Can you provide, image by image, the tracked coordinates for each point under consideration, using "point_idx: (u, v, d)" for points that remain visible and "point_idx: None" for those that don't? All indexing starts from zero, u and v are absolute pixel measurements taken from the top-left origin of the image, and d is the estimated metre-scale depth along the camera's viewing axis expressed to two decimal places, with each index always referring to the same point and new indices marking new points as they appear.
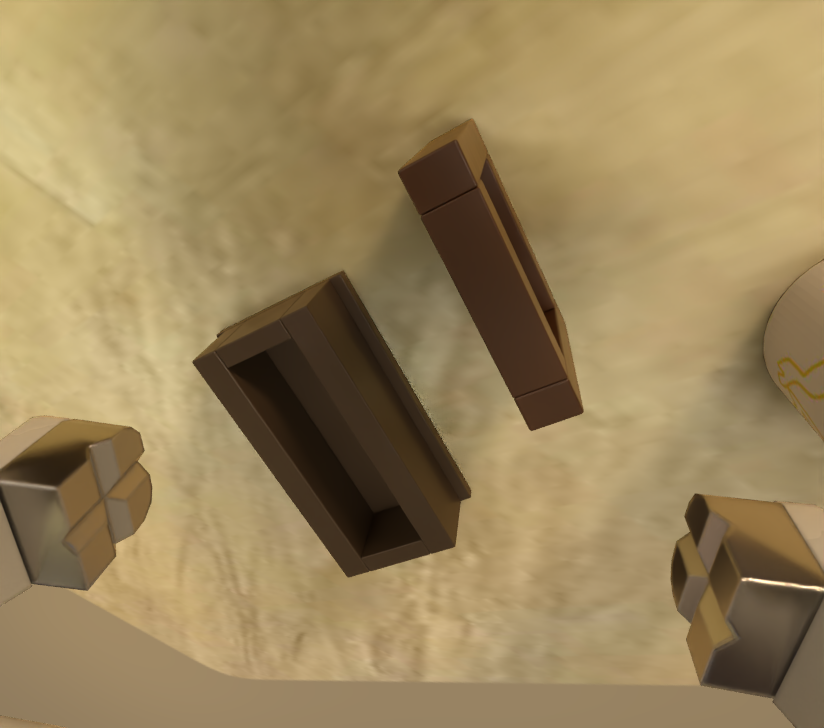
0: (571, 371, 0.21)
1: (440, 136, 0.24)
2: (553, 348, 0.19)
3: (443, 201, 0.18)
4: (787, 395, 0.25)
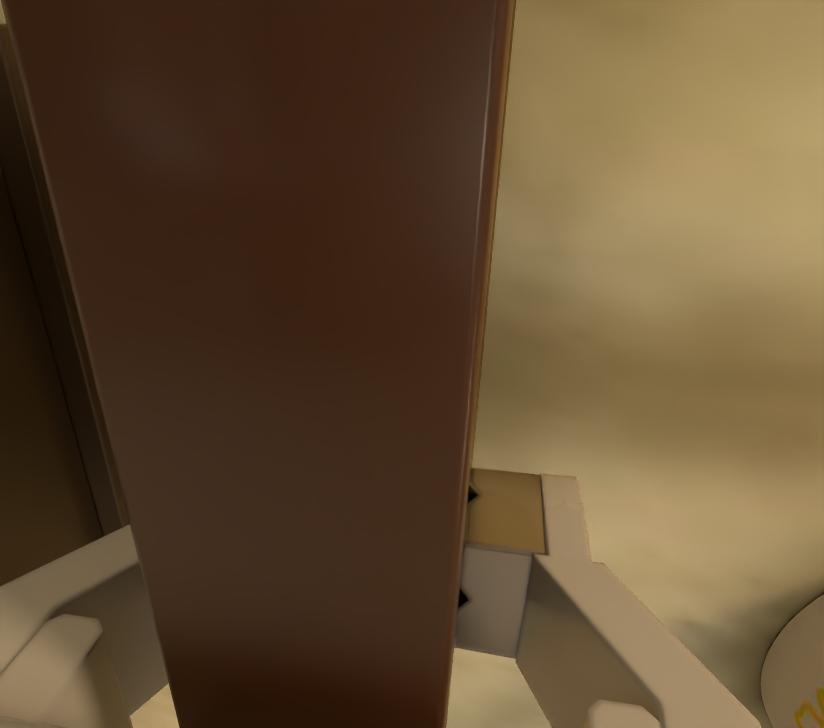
0: (452, 661, 0.06)
1: None
2: (442, 704, 0.04)
3: None
4: None
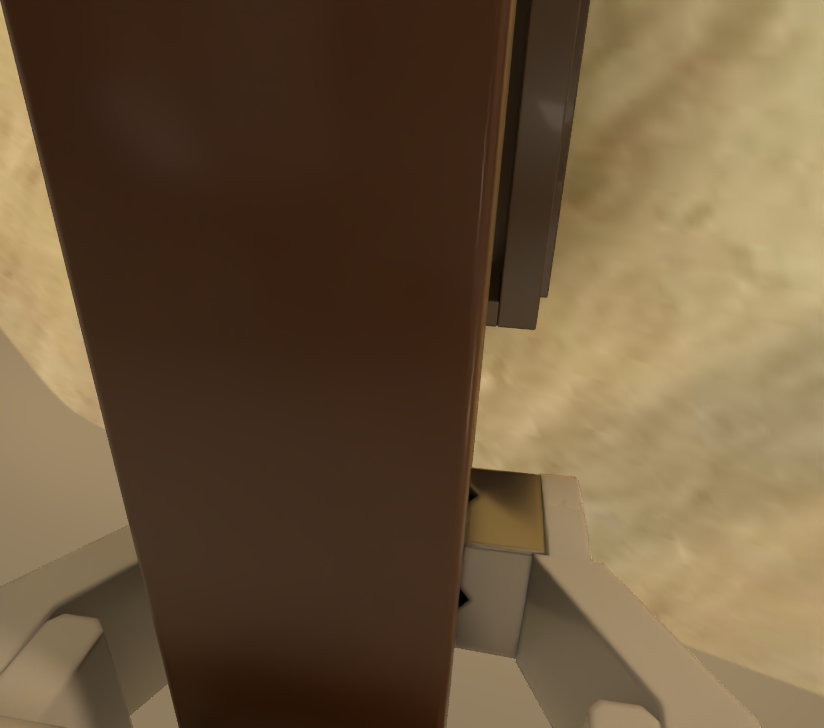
0: (452, 664, 0.06)
1: None
2: (443, 709, 0.04)
3: None
4: None
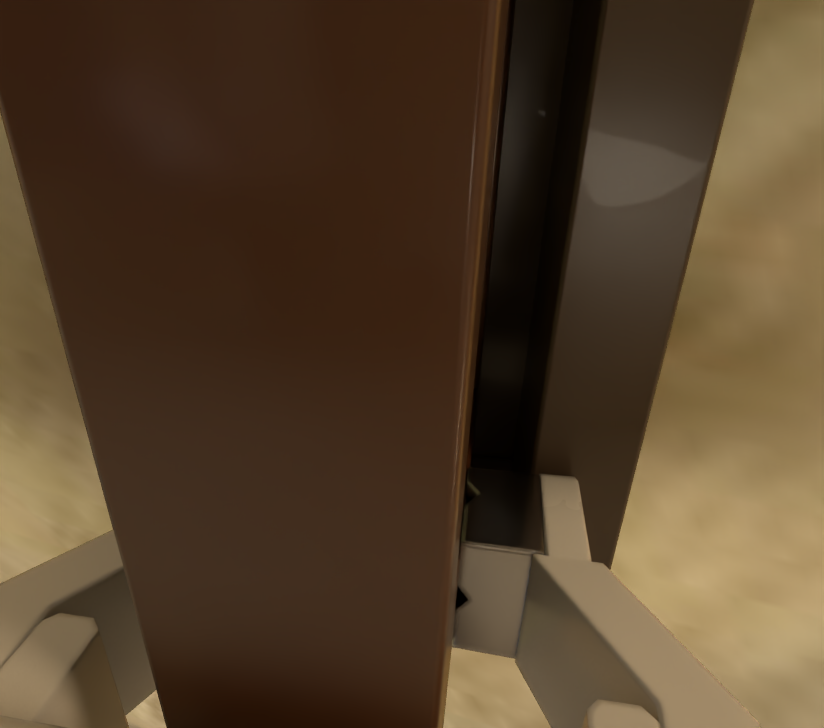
0: (448, 669, 0.06)
1: None
2: (435, 722, 0.04)
3: None
4: None
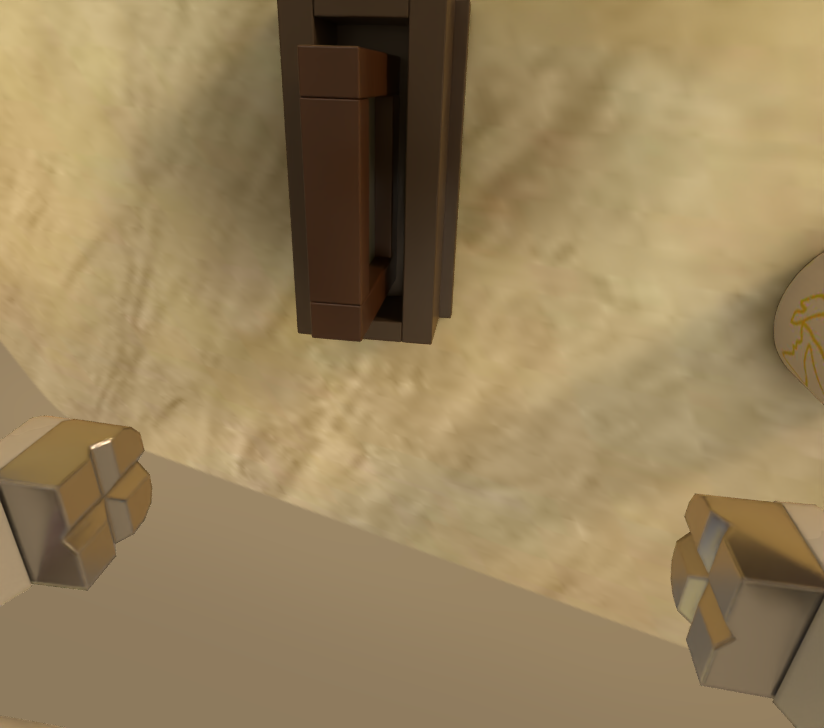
0: (370, 307, 0.24)
1: None
2: (360, 273, 0.21)
3: (324, 95, 0.19)
4: (791, 334, 0.27)
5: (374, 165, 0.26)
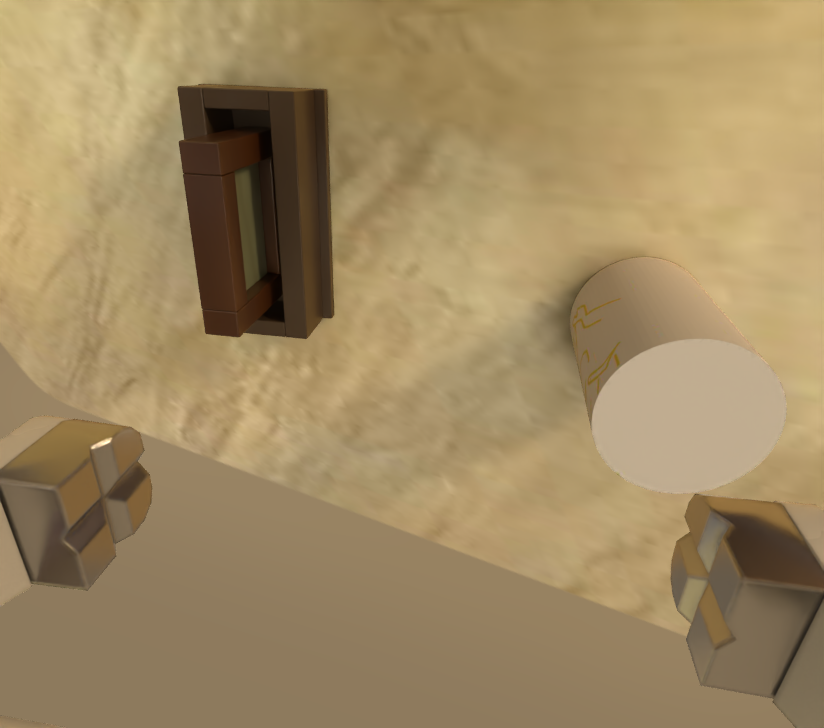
0: (251, 312, 0.33)
1: (250, 127, 0.34)
2: (234, 290, 0.31)
3: (199, 173, 0.28)
4: (572, 333, 0.36)
5: (261, 207, 0.35)
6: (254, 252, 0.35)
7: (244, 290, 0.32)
